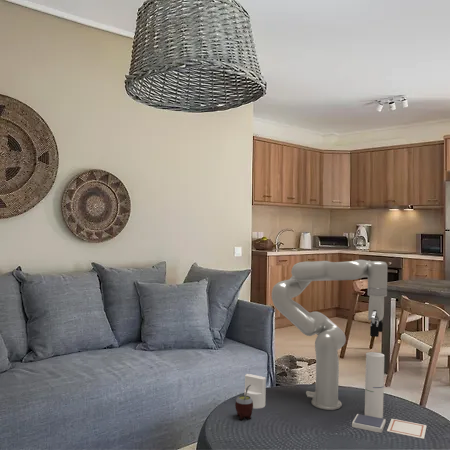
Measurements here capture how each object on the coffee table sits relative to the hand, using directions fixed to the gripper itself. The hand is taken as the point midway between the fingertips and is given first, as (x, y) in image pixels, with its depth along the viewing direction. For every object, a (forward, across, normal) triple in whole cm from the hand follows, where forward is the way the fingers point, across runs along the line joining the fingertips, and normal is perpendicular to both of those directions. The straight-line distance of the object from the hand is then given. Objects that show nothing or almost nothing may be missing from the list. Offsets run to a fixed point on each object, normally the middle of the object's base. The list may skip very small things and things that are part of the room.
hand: (376, 333), depth 198 cm
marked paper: (+34, +6, +13) cm, 36 cm away
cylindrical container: (+34, 0, -1) cm, 34 cm away
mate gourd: (+33, +28, -46) cm, 63 cm away
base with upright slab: (+33, +13, -48) cm, 60 cm away
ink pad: (+33, +10, -1) cm, 35 cm away
